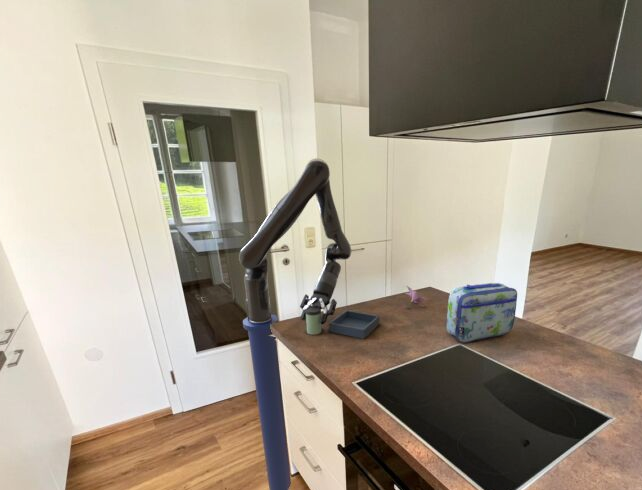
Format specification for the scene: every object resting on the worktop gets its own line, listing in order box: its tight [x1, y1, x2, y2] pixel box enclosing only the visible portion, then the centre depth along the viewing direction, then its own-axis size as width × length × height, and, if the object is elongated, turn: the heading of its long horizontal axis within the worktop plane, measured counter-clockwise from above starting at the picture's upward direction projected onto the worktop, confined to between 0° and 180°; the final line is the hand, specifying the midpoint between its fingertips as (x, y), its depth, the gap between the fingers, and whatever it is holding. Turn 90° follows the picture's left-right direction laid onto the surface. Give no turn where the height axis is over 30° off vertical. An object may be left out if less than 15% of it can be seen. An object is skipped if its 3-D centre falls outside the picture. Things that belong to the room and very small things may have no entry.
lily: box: [405, 285, 428, 309], centre depth 168 cm, size 12×12×10 cm
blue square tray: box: [328, 309, 380, 340], centre depth 145 cm, size 15×15×4 cm
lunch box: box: [446, 282, 518, 344], centre depth 137 cm, size 26×11×21 cm, turn 108°
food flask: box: [305, 307, 323, 336], centre depth 141 cm, size 6×6×10 cm
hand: (312, 321), depth 140 cm, fingers open, 8 cm apart
